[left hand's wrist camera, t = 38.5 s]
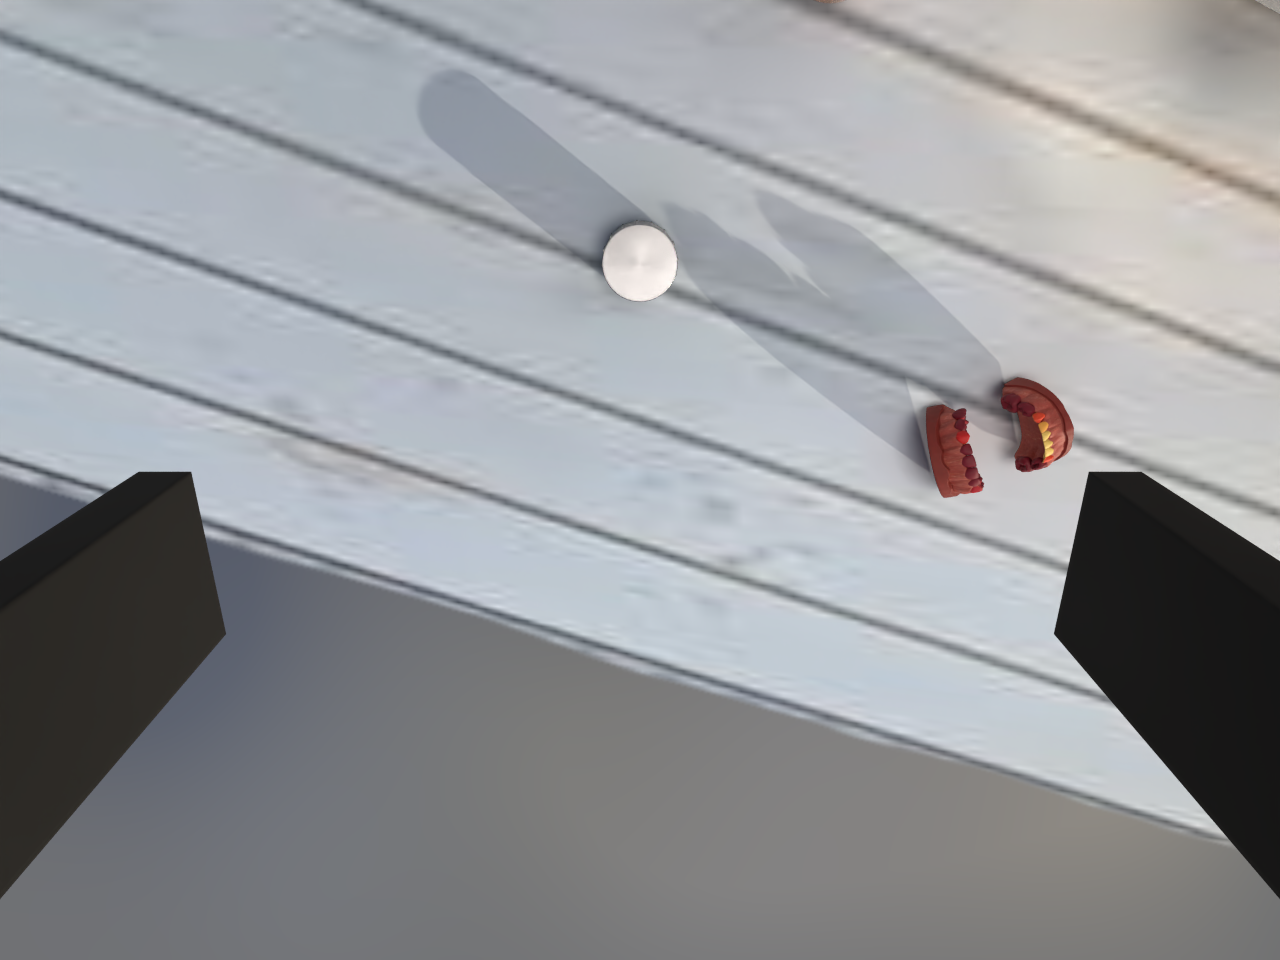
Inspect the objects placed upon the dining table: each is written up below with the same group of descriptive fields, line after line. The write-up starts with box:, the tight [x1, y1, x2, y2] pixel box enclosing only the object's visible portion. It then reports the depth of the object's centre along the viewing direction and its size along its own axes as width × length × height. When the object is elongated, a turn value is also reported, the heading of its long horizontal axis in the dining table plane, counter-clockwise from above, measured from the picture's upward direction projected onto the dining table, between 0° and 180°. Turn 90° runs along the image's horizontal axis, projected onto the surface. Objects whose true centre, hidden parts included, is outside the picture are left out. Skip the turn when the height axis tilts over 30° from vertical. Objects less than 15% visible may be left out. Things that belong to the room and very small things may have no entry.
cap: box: [602, 220, 678, 302], centre depth 45 cm, size 4×4×2 cm
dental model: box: [926, 377, 1074, 498], centre depth 48 cm, size 6×4×8 cm
